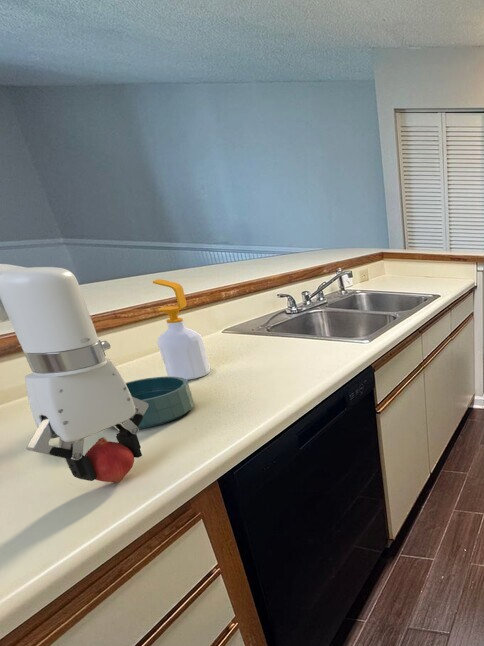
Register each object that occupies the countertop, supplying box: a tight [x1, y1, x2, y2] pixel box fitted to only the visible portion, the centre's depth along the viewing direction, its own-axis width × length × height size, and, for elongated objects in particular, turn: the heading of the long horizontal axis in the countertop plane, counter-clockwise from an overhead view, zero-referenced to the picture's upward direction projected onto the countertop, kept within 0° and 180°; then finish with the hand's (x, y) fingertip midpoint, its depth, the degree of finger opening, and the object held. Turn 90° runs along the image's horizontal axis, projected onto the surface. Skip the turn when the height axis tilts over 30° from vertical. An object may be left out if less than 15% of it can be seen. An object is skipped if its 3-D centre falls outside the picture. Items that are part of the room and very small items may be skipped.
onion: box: [84, 436, 135, 484], centre depth 66 cm, size 6×6×8 cm
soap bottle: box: [152, 278, 211, 381], centre depth 106 cm, size 9×9×25 cm
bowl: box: [111, 376, 195, 430], centre depth 88 cm, size 15×15×6 cm
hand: (110, 465), depth 66 cm, fingers closed on onion, 5 cm apart
